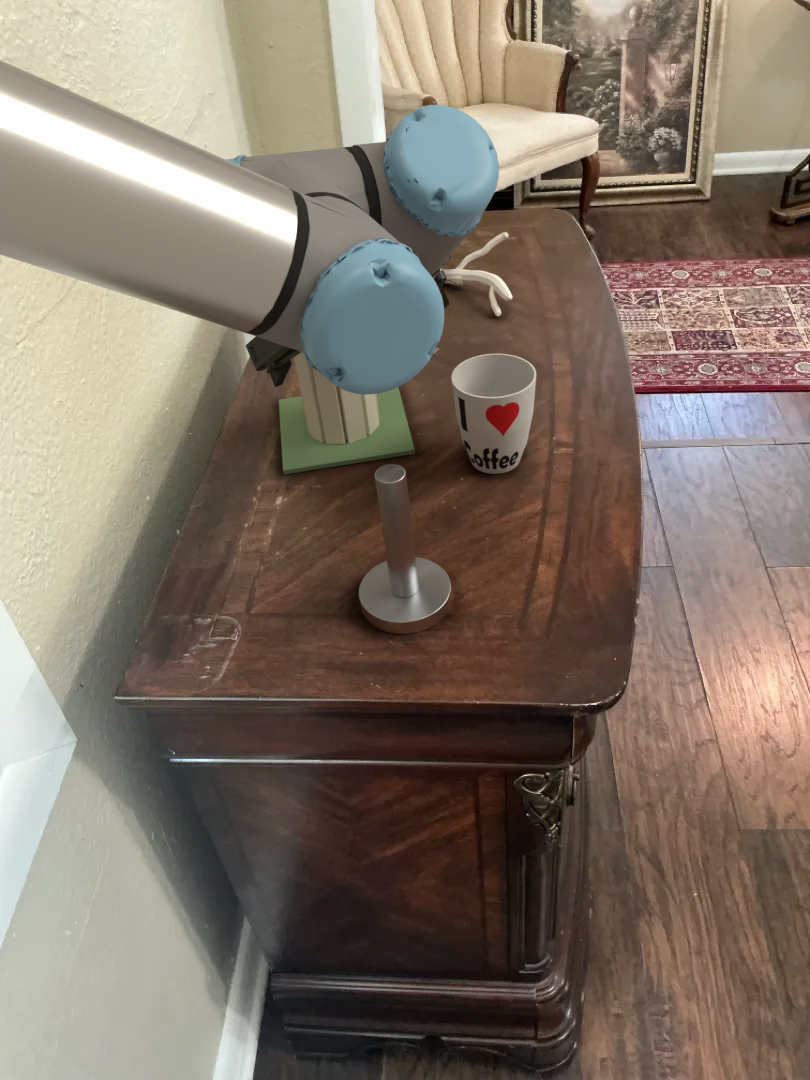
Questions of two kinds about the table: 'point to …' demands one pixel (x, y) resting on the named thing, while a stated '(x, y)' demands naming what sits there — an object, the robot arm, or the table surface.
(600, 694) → the table surface
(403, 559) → the stand
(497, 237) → the owl
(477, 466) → the cup
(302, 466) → the mat
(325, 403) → the cream slatted holder
